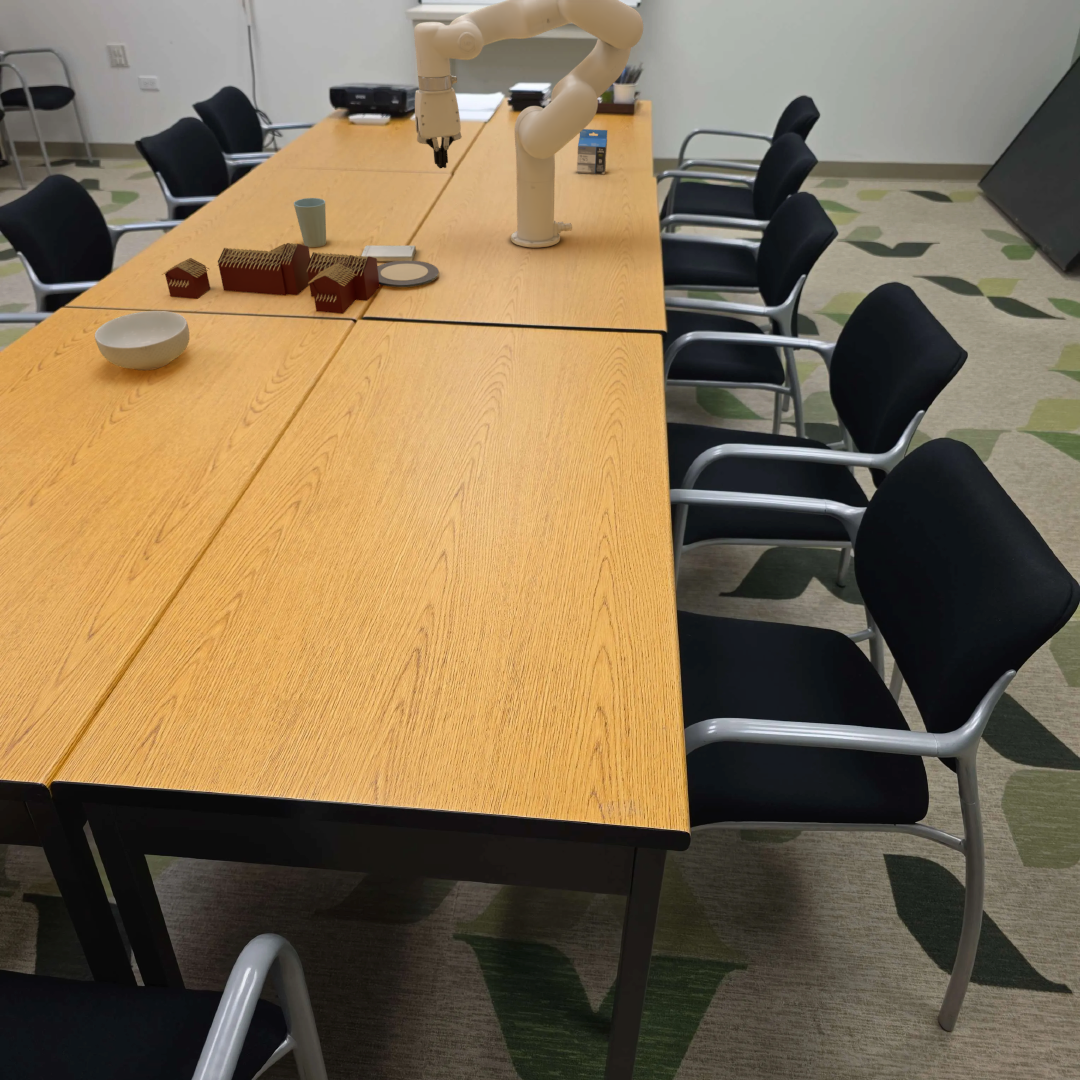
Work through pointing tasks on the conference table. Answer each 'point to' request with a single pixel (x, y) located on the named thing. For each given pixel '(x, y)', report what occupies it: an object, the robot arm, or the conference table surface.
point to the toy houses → (283, 275)
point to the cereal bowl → (143, 339)
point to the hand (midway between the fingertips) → (441, 166)
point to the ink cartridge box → (592, 152)
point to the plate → (406, 273)
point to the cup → (312, 221)
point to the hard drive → (390, 252)
